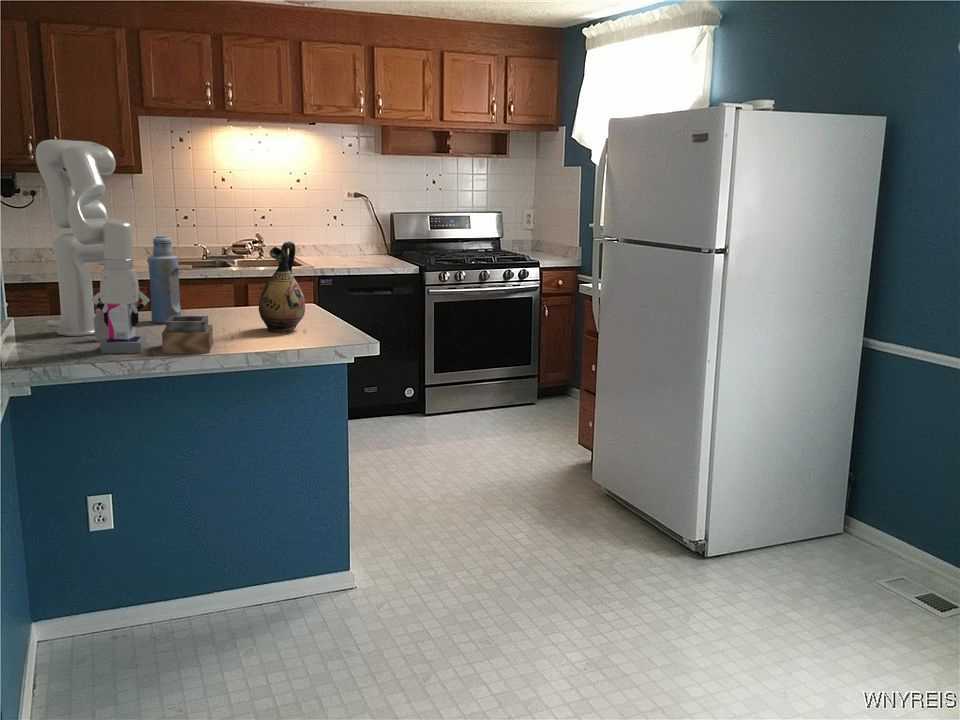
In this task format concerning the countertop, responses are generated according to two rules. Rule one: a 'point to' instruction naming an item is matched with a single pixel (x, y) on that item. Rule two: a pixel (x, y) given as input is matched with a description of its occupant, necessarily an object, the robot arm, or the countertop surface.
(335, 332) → the countertop surface
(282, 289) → the ceramic jug
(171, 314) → the bottle
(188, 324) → the raised dock
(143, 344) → the low collar
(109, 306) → the supplement box
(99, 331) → the power adapter
